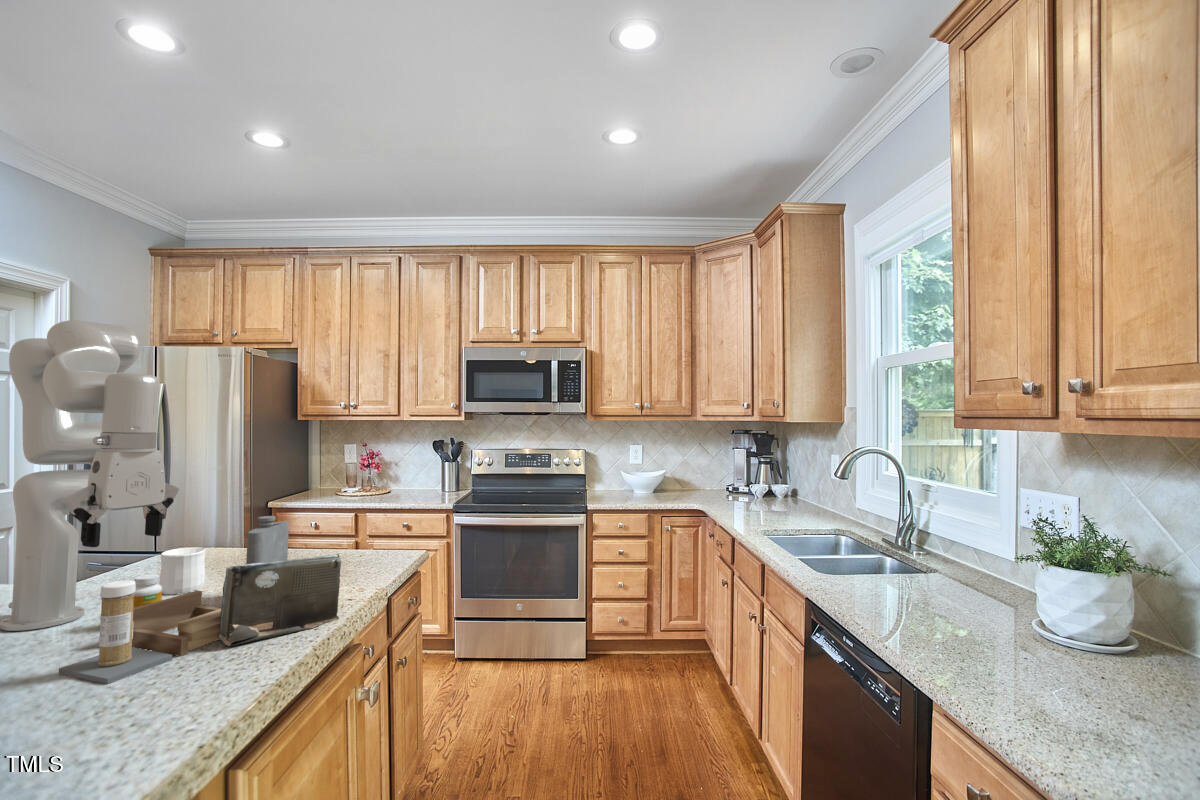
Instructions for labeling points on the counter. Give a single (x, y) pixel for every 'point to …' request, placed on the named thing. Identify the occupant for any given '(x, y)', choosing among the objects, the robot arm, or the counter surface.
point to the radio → (278, 598)
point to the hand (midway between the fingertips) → (123, 540)
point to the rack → (166, 622)
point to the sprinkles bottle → (116, 622)
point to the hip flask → (268, 541)
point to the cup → (182, 570)
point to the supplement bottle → (147, 590)
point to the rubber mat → (113, 673)
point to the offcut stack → (201, 629)
